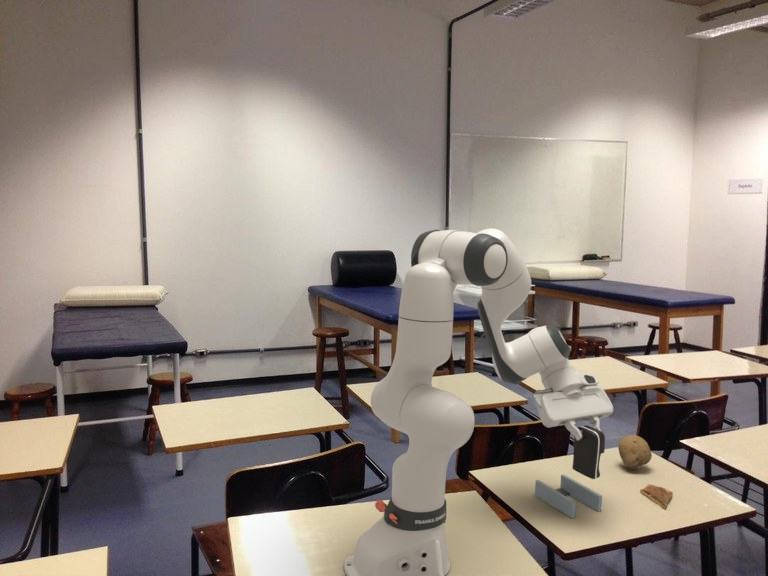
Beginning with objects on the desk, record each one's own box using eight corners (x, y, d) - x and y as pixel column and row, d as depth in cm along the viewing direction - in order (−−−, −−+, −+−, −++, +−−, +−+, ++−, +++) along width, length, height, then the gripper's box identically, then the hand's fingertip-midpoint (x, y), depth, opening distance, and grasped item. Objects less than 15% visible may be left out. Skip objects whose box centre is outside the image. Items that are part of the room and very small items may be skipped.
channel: (571, 518, 156) (572, 503, 156) (534, 494, 169) (535, 480, 168) (601, 511, 160) (602, 495, 160) (563, 488, 173) (563, 474, 172)
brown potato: (644, 463, 191) (646, 431, 189) (655, 475, 182) (657, 442, 181) (613, 462, 191) (615, 430, 190) (622, 474, 182) (624, 440, 181)
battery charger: (604, 477, 151) (608, 431, 149) (593, 481, 149) (597, 434, 147) (582, 466, 157) (585, 422, 155) (571, 469, 155) (574, 424, 153)
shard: (665, 511, 161) (665, 505, 161) (633, 503, 166) (634, 497, 165) (673, 496, 170) (674, 489, 170) (643, 488, 174) (644, 482, 174)
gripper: (536, 384, 152) (562, 437, 145) (601, 376, 161) (628, 425, 154) (524, 397, 157) (548, 449, 150) (587, 388, 166) (613, 437, 158)
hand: (589, 437), depth 152 cm, fingers closed on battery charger, 4 cm apart
